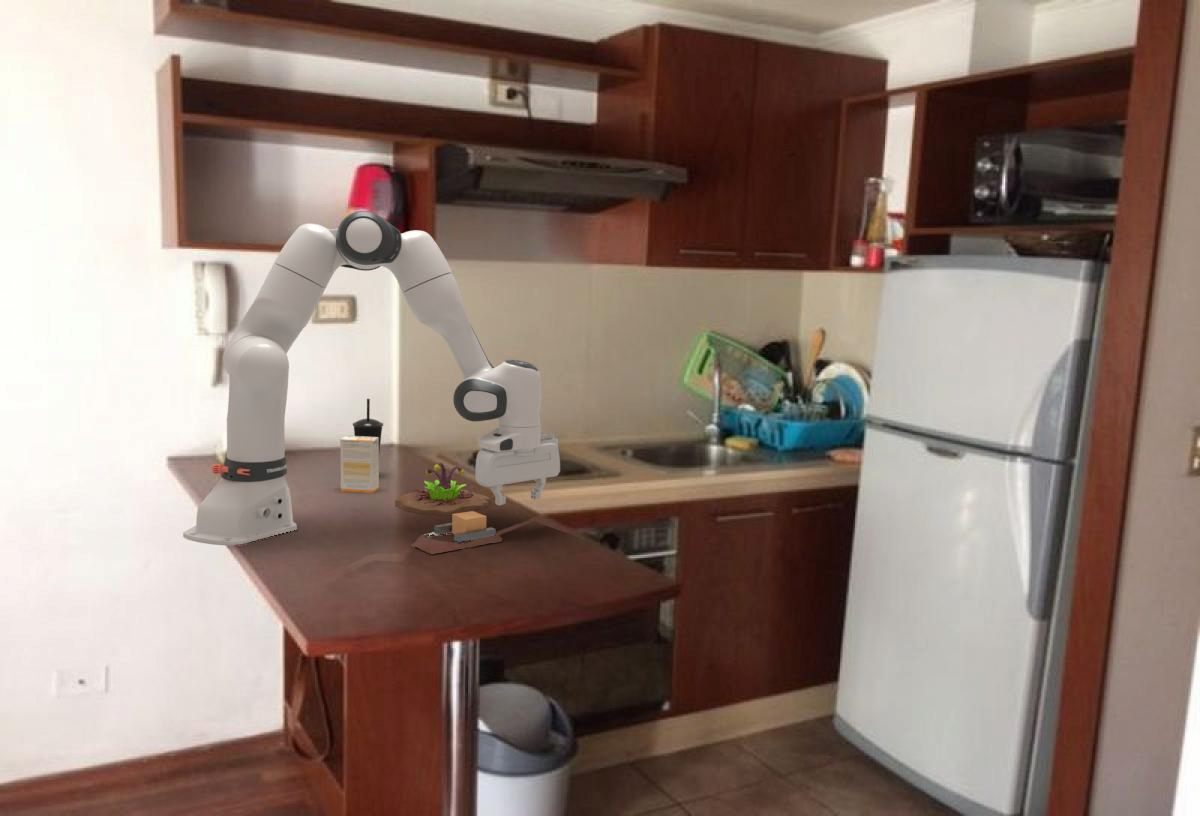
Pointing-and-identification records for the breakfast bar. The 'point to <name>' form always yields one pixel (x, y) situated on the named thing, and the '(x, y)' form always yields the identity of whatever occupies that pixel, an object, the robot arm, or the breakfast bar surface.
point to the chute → (464, 535)
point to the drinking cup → (368, 426)
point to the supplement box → (359, 464)
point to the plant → (442, 496)
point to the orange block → (468, 522)
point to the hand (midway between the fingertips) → (518, 501)
